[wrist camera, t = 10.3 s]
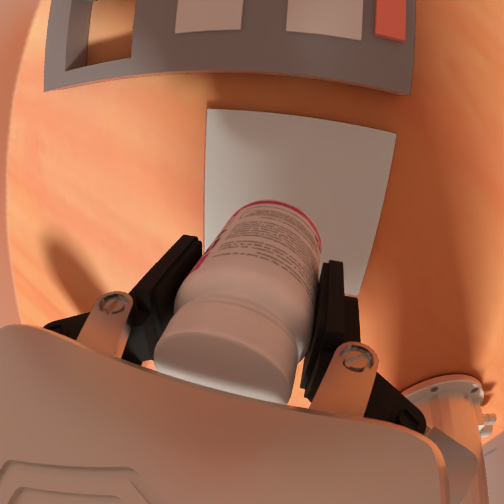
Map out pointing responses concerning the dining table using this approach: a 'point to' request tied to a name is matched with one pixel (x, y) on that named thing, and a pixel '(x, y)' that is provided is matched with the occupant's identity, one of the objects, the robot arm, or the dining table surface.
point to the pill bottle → (247, 305)
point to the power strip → (244, 41)
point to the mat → (301, 177)
